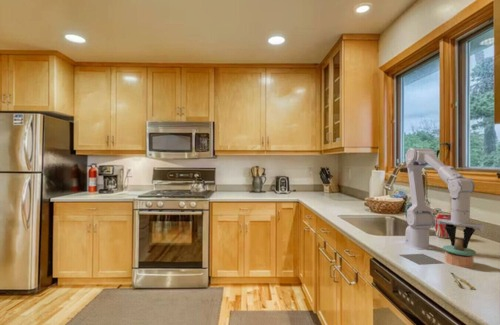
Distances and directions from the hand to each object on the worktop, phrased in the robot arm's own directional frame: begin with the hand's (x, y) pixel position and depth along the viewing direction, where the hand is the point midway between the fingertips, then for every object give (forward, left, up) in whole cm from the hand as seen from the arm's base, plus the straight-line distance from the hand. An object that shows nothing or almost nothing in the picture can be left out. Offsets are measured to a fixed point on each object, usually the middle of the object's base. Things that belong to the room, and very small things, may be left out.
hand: (459, 246), depth 111 cm
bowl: (0, 0, -7) cm, 7 cm away
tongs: (+13, -14, -7) cm, 21 cm away
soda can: (-35, +27, -7) cm, 45 cm away
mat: (-6, -11, -7) cm, 14 cm away
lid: (0, 0, -2) cm, 2 cm away
